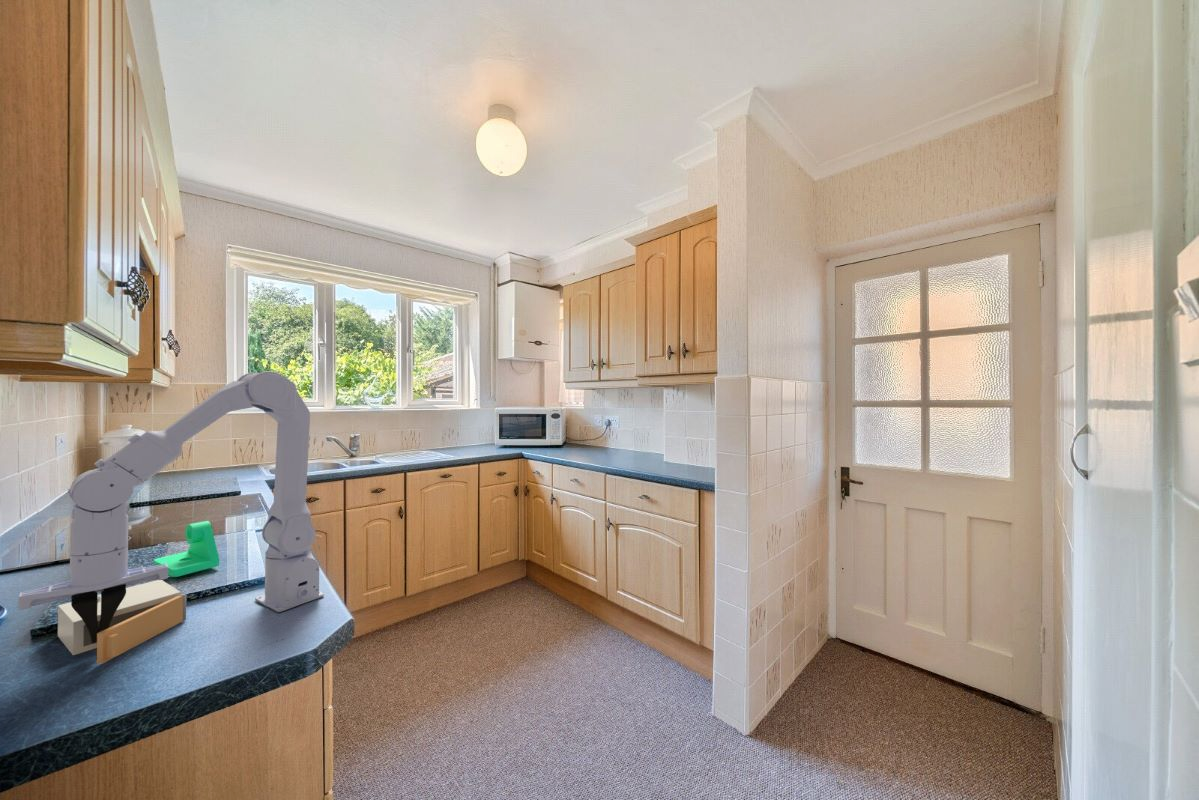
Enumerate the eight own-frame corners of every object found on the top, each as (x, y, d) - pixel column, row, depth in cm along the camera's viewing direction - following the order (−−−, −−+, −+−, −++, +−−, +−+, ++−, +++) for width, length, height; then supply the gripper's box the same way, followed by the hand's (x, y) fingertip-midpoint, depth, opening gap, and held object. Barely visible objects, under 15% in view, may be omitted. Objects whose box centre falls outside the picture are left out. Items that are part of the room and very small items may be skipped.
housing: (180, 620, 75) (181, 588, 75) (73, 655, 65) (73, 618, 65) (158, 604, 81) (158, 574, 81) (56, 634, 71) (56, 599, 71)
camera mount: (152, 571, 96) (152, 525, 96) (196, 560, 103) (196, 517, 103) (173, 582, 91) (174, 533, 91) (219, 570, 97) (219, 524, 97)
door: (182, 618, 75) (182, 593, 75) (192, 618, 75) (193, 593, 75) (96, 663, 63) (96, 633, 63) (109, 663, 63) (109, 633, 63)
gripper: (165, 532, 73) (163, 613, 73) (22, 555, 62) (21, 650, 62) (170, 542, 69) (168, 627, 69) (17, 568, 58) (15, 670, 58)
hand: (98, 639), depth 65 cm, fingers closed
